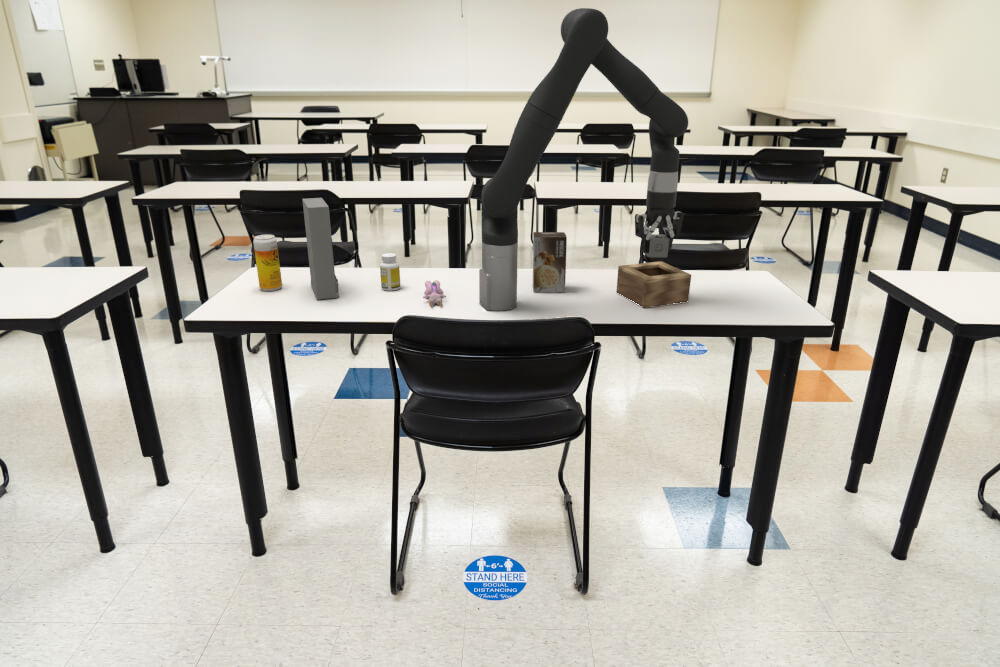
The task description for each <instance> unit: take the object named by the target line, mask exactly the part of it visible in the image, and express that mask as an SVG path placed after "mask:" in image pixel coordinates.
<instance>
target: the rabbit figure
mask: <svg viewBox="0 0 1000 667" xmlns="http://www.w3.org/2000/svg"><path fill="white" fill-rule="evenodd" d="M424 286H425V290H424V292H423V293H424V296H422V298H423V299H426V298H428V304H429V307H430V308H431V309H432V307H434V306H435V305H437V306H438V307H443V304H442V303H443V299H442V297H443V298H447V295H446V294H444V290H443V289H442V288H441V282H440V281H439V280H433V281H431V280H426V281H425V282H424Z"/></svg>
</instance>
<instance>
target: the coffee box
mask: <svg viewBox="0 0 1000 667" xmlns="http://www.w3.org/2000/svg"><path fill="white" fill-rule="evenodd" d="M532 235H533V239H532V244H533V246H532V292H533V293H559V294H561V293H562V294H563V293H566V277H567V276H566V273H567V243H568V242H567V240H568V238H567V234H566V233H565V232H563V231H562V232H559V231H546V232H545V231H533V233H532Z"/></svg>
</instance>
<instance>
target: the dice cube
mask: <svg viewBox="0 0 1000 667" xmlns="http://www.w3.org/2000/svg"><path fill="white" fill-rule="evenodd" d="M649 240H650V244H649V253H644V254H645V255H646V256H647V258H668V255H669V254H668V253H669V251H668V246H669V238H668V237H667V236H666V235H665V234H661V233H660V234H659V233H658V234H656V233H655V234H653V233H652V235H651V237H650V239H649Z"/></svg>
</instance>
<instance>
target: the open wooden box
mask: <svg viewBox="0 0 1000 667" xmlns="http://www.w3.org/2000/svg"><path fill="white" fill-rule="evenodd" d="M617 269H618V270H617V279H616V292H617V293H616V294H618V293H619V294H618V295H620V294H621V295H620V296H622V295H623V296H624V297H623V296H622V297H623V298H625V297H626V298H625V299H627V298H628V299H630V300H632V301H634V302H635V303H637V304H639V305H640V306H642V307H650V308H652V307H651V306H657V307H661V306H660V305H665V306H668V305H667V304H672V305H674V304H673V303H680V302H687V301H688V302H689V297H690V291H691V290H690V289H691V281H692V274H690V273H688V272H686V271H684V270H682V269H680V268H678V267H675V266H672V265H670V264H668V263H666V262H664V261H662V260H661V261H652V262H651V261H650V262H641V263H631V264H623V265H618V267H617ZM628 299H627V300H628ZM630 300H629V301H630ZM632 301H631V302H632ZM634 302H633V303H634ZM688 302H687V303H688ZM635 303H634V304H635ZM637 304H636V305H637ZM680 304H681V303H680ZM639 305H638V306H639ZM640 306H639V307H640ZM642 307H641V308H642Z"/></svg>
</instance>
